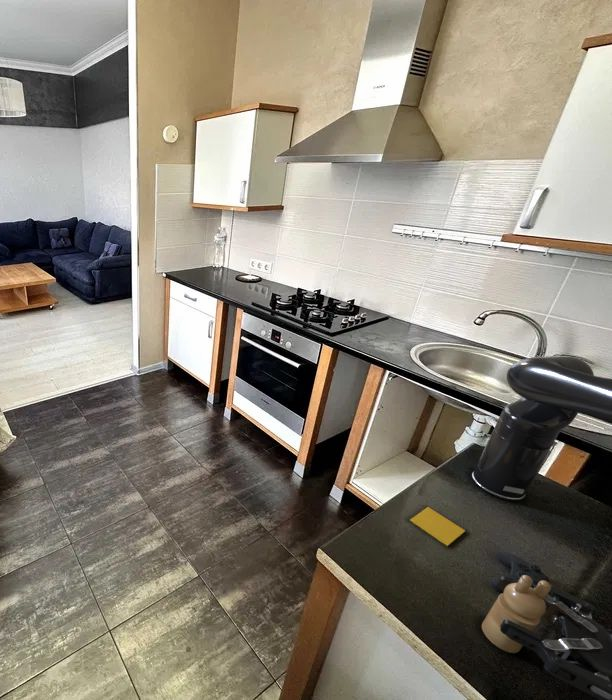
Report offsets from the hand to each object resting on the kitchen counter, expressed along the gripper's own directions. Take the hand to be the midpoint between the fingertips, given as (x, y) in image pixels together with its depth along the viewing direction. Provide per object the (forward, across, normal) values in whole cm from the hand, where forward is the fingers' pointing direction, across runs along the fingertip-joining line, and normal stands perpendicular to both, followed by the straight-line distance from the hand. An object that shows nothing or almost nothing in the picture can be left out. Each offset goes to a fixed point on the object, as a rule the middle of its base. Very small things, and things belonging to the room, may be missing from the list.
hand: (500, 602), depth 57 cm
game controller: (-5, -13, +7) cm, 15 cm away
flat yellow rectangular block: (+7, -19, +6) cm, 21 cm away
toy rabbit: (-2, 0, +6) cm, 7 cm away
